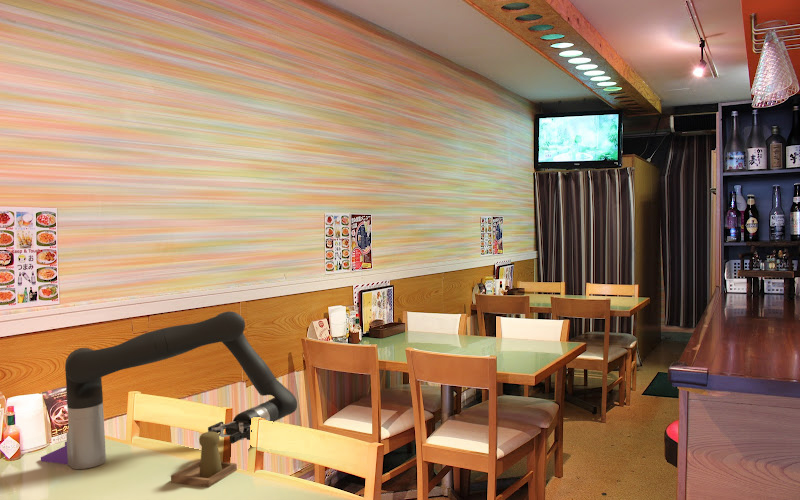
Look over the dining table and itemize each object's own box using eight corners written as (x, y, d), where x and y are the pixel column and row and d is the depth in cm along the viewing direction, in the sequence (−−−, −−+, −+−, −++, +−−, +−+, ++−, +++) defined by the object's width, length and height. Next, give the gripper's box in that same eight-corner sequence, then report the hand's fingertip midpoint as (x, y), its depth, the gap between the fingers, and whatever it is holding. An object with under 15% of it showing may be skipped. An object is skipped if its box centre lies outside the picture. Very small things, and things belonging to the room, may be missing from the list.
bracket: (90, 457, 187) (89, 435, 187) (71, 466, 181) (70, 442, 181) (60, 454, 192) (59, 432, 191) (40, 462, 185) (39, 439, 185)
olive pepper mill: (216, 478, 164) (214, 436, 164) (195, 477, 165) (193, 436, 165) (226, 469, 170) (224, 429, 170) (205, 468, 171) (203, 429, 171)
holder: (171, 482, 164) (170, 475, 164) (200, 465, 176) (200, 459, 175) (208, 487, 160) (208, 480, 160) (236, 470, 171) (236, 463, 171)
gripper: (231, 407, 191) (196, 423, 176) (271, 410, 186) (238, 427, 171) (232, 432, 191) (197, 450, 176) (272, 435, 186) (240, 454, 171)
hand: (218, 438), depth 173 cm, fingers open, 8 cm apart
